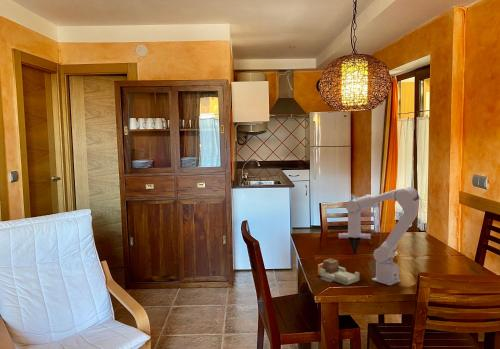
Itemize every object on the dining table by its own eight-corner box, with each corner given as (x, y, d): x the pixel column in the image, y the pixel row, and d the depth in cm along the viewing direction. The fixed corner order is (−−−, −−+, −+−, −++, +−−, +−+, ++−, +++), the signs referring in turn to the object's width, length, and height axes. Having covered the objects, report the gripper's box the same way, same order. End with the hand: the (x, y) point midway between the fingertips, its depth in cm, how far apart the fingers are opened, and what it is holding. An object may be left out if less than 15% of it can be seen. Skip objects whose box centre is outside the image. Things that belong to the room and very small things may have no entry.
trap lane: (359, 280, 175) (359, 269, 175) (346, 285, 170) (346, 273, 170) (331, 270, 189) (331, 260, 189) (318, 275, 184) (317, 264, 183)
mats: (360, 277, 179) (360, 276, 179) (338, 285, 170) (338, 284, 170) (341, 271, 188) (341, 271, 188) (319, 278, 179) (319, 278, 179)
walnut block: (338, 271, 183) (338, 260, 182) (331, 273, 180) (331, 263, 179) (330, 268, 187) (330, 258, 186) (323, 270, 184) (323, 260, 183)
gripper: (338, 226, 180) (338, 255, 181) (371, 227, 177) (371, 256, 178) (338, 223, 187) (338, 250, 188) (369, 223, 184) (369, 251, 185)
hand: (354, 253), depth 184 cm, fingers closed
